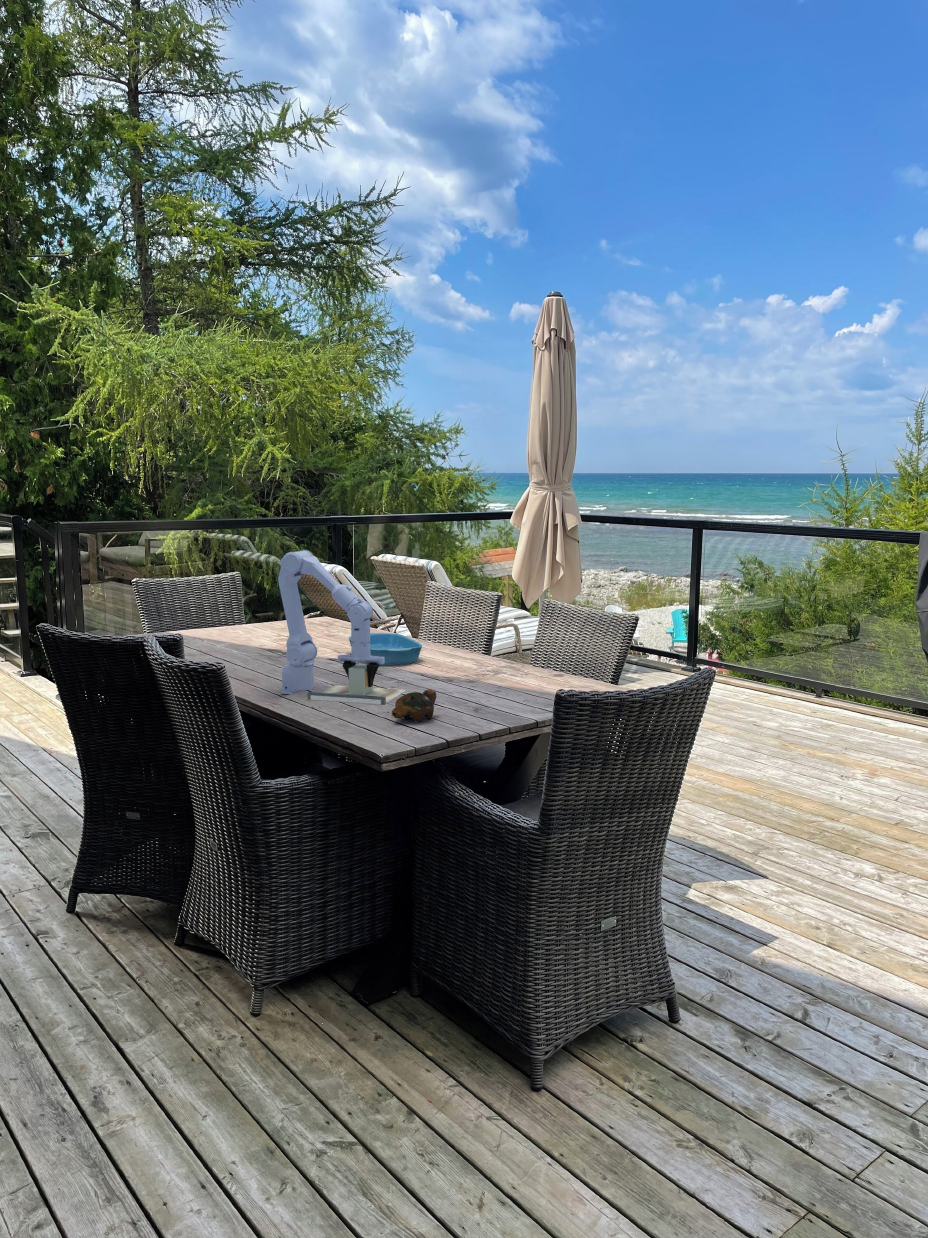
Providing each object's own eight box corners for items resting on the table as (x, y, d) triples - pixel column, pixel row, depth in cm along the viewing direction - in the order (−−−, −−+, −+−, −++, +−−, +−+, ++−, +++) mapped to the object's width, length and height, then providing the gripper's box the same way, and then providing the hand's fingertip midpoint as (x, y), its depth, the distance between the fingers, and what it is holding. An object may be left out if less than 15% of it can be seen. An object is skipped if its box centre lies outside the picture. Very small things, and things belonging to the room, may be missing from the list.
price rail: (307, 704, 268) (307, 692, 267) (309, 703, 269) (309, 691, 268) (384, 709, 261) (384, 697, 261) (385, 708, 263) (385, 696, 262)
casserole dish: (430, 665, 328) (430, 646, 327) (371, 670, 319) (371, 650, 318) (396, 648, 361) (396, 631, 360) (342, 652, 352) (341, 634, 351)
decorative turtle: (446, 717, 253) (446, 690, 251) (408, 731, 242) (407, 703, 241) (421, 709, 260) (421, 683, 258) (383, 723, 249) (382, 695, 247)
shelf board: (310, 703, 269) (310, 698, 269) (334, 690, 286) (334, 685, 286) (386, 708, 263) (386, 703, 263) (406, 694, 280) (406, 689, 280)
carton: (349, 694, 274) (348, 668, 273) (357, 689, 281) (357, 664, 279) (365, 695, 272) (365, 669, 271) (373, 690, 279) (373, 665, 278)
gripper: (333, 643, 272) (334, 687, 274) (378, 645, 269) (379, 690, 271) (342, 639, 279) (343, 682, 281) (386, 641, 275) (387, 685, 277)
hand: (361, 686), depth 276 cm, fingers closed on carton, 5 cm apart
